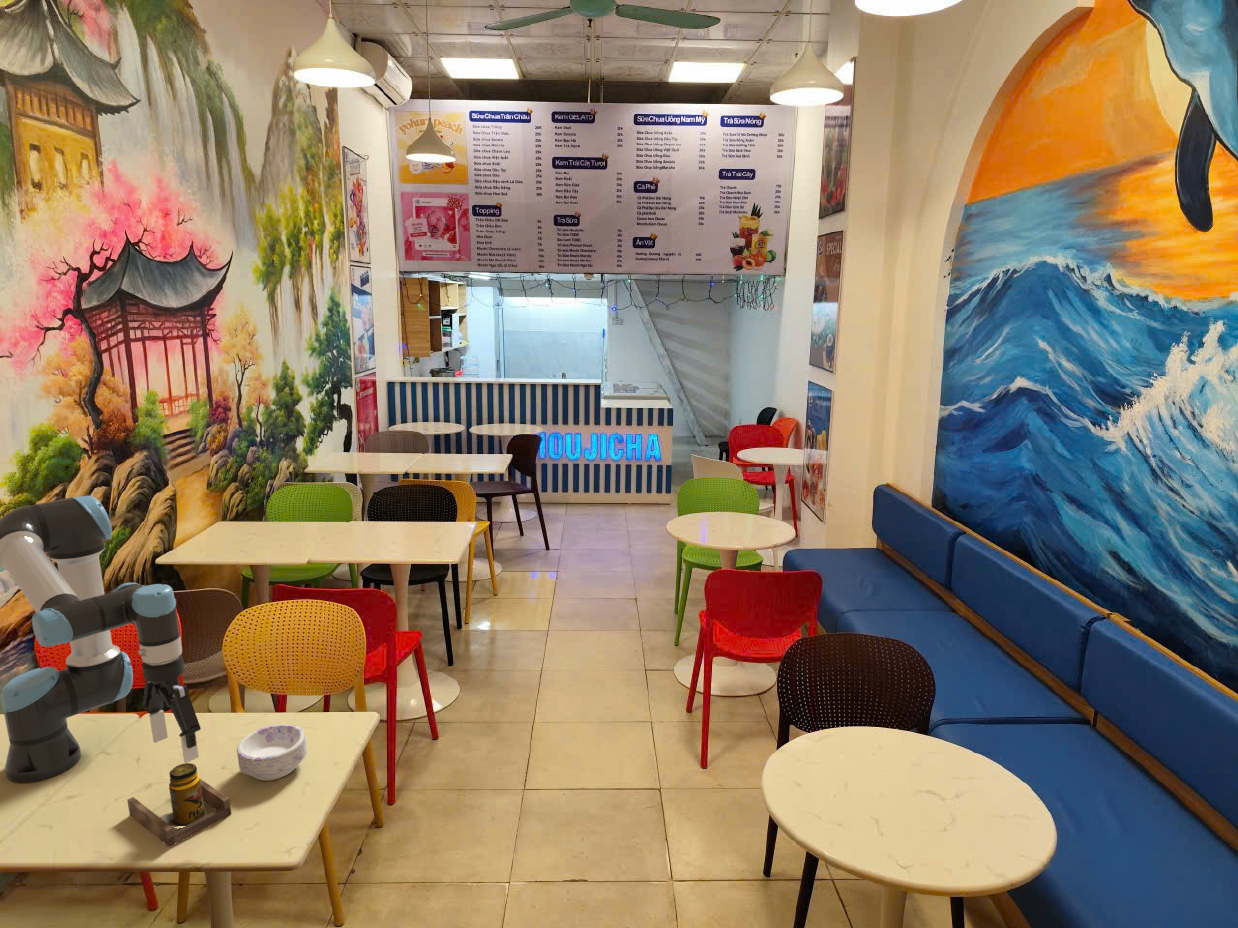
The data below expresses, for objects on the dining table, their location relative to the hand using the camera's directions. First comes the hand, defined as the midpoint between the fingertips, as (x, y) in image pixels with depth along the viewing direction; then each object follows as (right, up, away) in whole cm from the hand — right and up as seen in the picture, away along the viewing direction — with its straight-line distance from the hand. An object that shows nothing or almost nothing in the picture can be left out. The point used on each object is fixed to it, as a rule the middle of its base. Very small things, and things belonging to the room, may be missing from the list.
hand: (175, 749), depth 176 cm
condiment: (0, -17, +4) cm, 17 cm away
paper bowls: (+12, -13, +22) cm, 28 cm away
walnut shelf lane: (-2, -16, +5) cm, 17 cm away
